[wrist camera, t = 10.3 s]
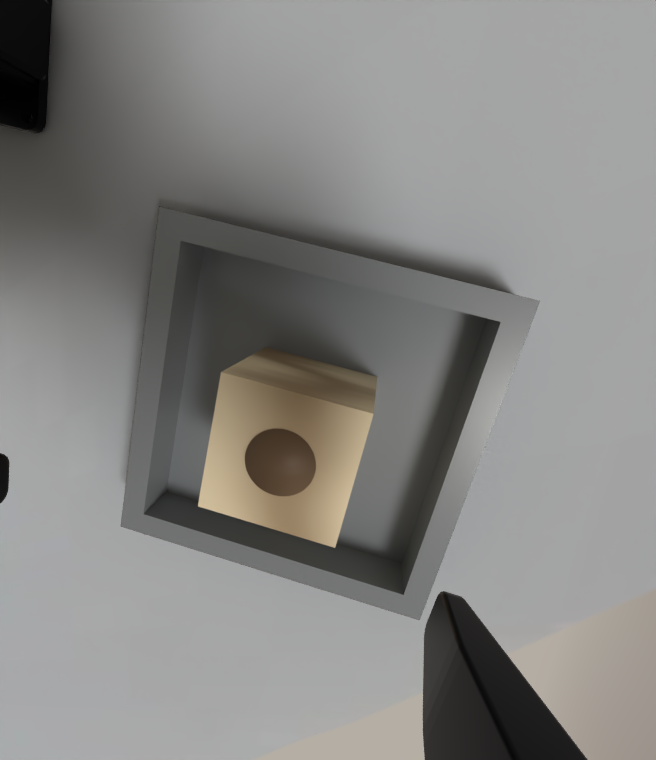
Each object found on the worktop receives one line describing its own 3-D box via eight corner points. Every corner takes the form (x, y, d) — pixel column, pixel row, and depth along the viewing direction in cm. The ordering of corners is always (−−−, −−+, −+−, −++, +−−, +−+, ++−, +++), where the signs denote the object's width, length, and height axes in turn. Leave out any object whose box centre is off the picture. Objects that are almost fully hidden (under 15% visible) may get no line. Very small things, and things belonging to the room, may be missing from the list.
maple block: (245, 449, 19) (197, 506, 14) (265, 347, 18) (220, 372, 13) (348, 479, 19) (335, 548, 14) (377, 376, 17) (373, 414, 13)
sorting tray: (150, 498, 21) (120, 526, 19) (190, 216, 17) (159, 206, 15) (415, 579, 20) (419, 620, 18) (517, 297, 16) (540, 300, 14)
